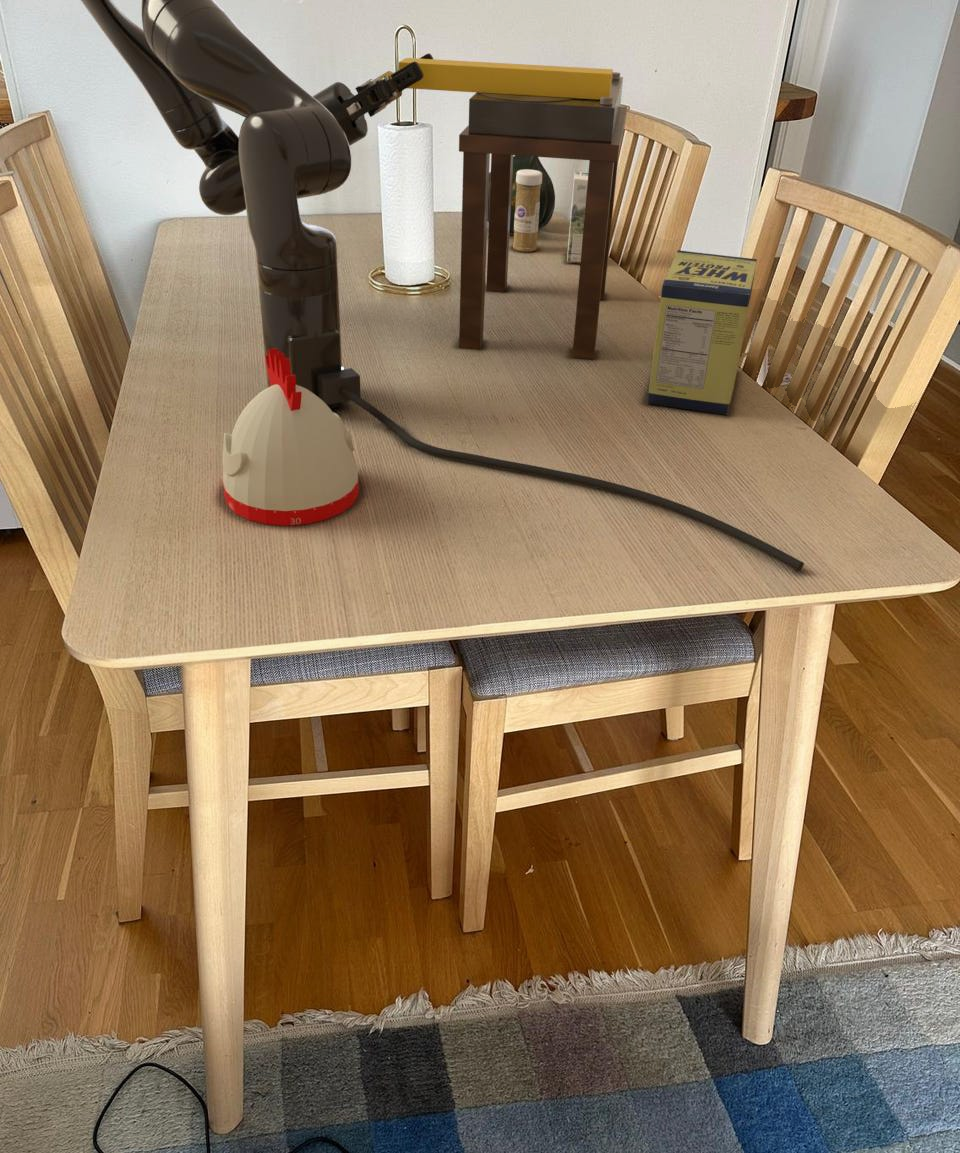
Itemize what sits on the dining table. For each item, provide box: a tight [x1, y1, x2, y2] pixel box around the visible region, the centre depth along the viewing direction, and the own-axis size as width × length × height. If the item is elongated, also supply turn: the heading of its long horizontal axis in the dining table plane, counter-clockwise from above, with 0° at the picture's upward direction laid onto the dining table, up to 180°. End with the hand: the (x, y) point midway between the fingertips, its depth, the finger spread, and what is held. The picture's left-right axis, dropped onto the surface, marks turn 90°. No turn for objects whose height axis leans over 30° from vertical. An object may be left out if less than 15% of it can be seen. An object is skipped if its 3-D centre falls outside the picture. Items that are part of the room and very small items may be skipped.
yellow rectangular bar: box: [398, 57, 614, 100], centre depth 129 cm, size 27×4×3 cm, turn 81°
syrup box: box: [566, 171, 589, 265], centre depth 176 cm, size 6×6×14 cm
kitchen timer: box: [221, 348, 360, 526], centre depth 102 cm, size 14×14×15 cm
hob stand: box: [458, 71, 628, 360], centre depth 144 cm, size 20×30×33 cm, turn 171°
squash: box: [487, 155, 556, 235], centre depth 192 cm, size 14×15×15 cm
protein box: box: [646, 249, 758, 416], centre depth 129 cm, size 10×16×16 cm
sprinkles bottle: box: [512, 169, 542, 253], centre depth 181 cm, size 5×5×13 cm
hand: (427, 64), depth 130 cm, fingers open, 8 cm apart
